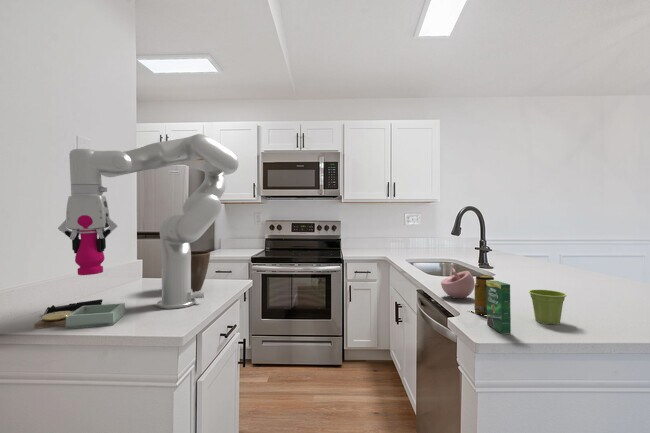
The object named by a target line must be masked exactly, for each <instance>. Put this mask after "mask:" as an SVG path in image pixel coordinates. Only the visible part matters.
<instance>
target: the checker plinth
mask: <svg viewBox="0 0 650 433" xmlns="http://www.w3.org/2000/svg"><path fill="white" fill-rule="evenodd" d="M54 327H66V319H63V320H56V321H44V320H42V319H41V320H39V321H37V322H35V323H34V324H33V329H41V328H42V329H43V328H54Z"/></svg>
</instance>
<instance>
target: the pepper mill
mask: <svg viewBox="0 0 650 433" xmlns="http://www.w3.org/2000/svg"><path fill="white" fill-rule="evenodd" d="M77 223H78V224H79V225H80V226H82V227H83V229H79V232H78V233H80V235H79V237H80V239H81V242H80V246H79V249H78V251H77V253H75V256H74V258H75V259H74V262H75V263H76V265H77V266H79V267H78V268H77V275H78V276H90V275H91V276H92V275H97V274H101V273H102V274H103V272H104V266H103V265H102V263H104V260H105V254H104V251H103V252H98V246H97V239H99V237H98V233H97V231H96V229H92V228H88V227H89V226H90V225H92V223H93V220H92V218H91V217H90V216H88V215H82V216H80V217H79V218H78V220H77Z"/></svg>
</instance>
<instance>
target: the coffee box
mask: <svg viewBox="0 0 650 433" xmlns="http://www.w3.org/2000/svg"><path fill="white" fill-rule="evenodd" d="M486 293H487V317H486V324H487V326H489V327H490V326H491V327H490V328H492V329H494V330H496V332H499V333H500V334H502V335H505V334H507V335H509V334H511V333H512V329H511V328H512V326H511V323H512V322H511V320H512V318H511V284H509V283H506V282H503V281H499V280H495V279H494V280H486Z"/></svg>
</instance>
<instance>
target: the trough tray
mask: <svg viewBox="0 0 650 433" xmlns="http://www.w3.org/2000/svg"><path fill="white" fill-rule="evenodd" d="M125 313H126V309H125V302H123V303H109V304H108V303H107V304H101V305H89V306H82V307H80V308H79V309H77V310H75V311H72V313H70V314H69V315H67V316H66V326H65V330H69V329H70V330H71V329H82V328H95V327H108V326H109V327H110V326H114V325H115V324H116V323H117V322H118V321H119V320H120V319H121V318H122V317H123V316H124V315H125Z"/></svg>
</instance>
